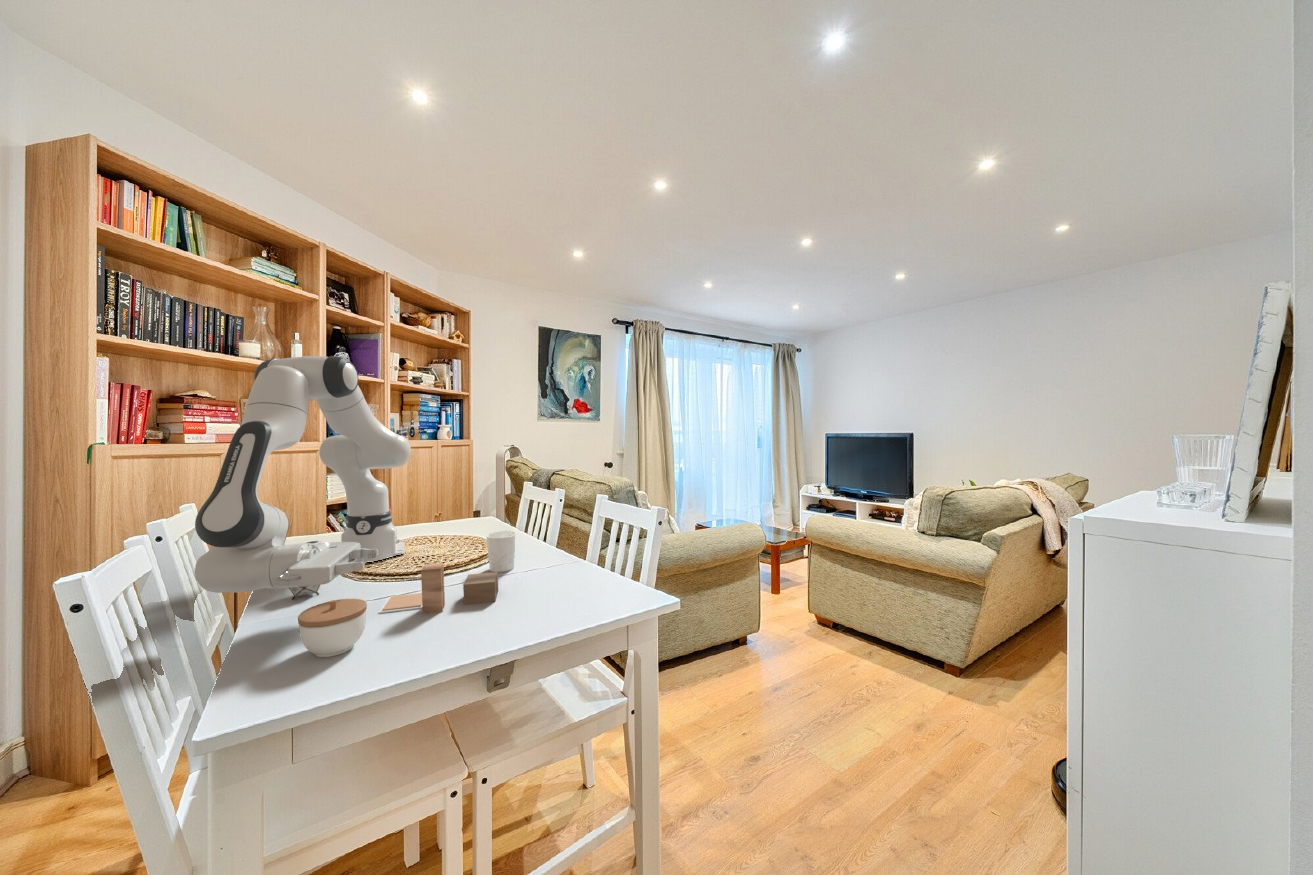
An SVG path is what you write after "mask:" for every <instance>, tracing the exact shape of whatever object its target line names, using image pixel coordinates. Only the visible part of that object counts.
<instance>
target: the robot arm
mask: <svg viewBox="0 0 1313 875" xmlns="http://www.w3.org/2000/svg"><path fill="white" fill-rule="evenodd" d="M253 380H254V382H253V384H252V386H251V388H250V389H251V390H250V392H249V395H248V399H247V400H246V401H247V402H246V406H245V410H244V416H243V418H242V421H241V424H240V426H239V427H238V429H237V430H236V431H235V433H234V434H233V436H232V439H231V441H230V444H229V446H228V449H227V451H226V454H225V457H224V460H223V463H222V466H221V468H220V471H219V474H218V477H217V480H216V483H215V485H214V488H213V490H212V492H211V494H210V495H209V497H208V498H207V499H206V500H205V502H204V503H203V505H202V506H201V508H200V509H199V511H198V513H197V514H196V517H195V519H194V520H195V522H194V523H195V524H194V527H195V532H196V535H197V536H198V538H199V539H200V540H201V541H203V543H204V544H207V545H209V546H212V547H211V548H210V549H209V550H207V552H205V553H204V554H202V555H201V556H199V558H198V559H197V560H196V563H195V568H194V575H195V579H196V581H197V584H199V586H200V588H202V589H203V590H205V591H207V592H210V593H217V594H218V593H219V594H226V593H227V594H232V593H245V592H254V591H257V590H261V589H272V590H273V589H274V590H279V589H287V588H289V589H290V587H300V586H311V585H320V586H321V585H326V584H329V583H330V582H333V580H334V579H335V578H337V577H338V576H340V575H341V576H343V575H345V574H350V573H354V572H361V571H363V570H364V568H365V567H366V563H365V562H367V561H377V560H381V559H384V558H387V557H390V556H395V555H400V554H403V553H404V554H405V548H406V544H405V541H402V540H400V539H399V538H398V532H397V531H398V530H397V528H396V526H394V524H393V522H392V521H393V518H392V509H391V508H390V498H389V488H388V486H387V485H386V484H385V483H384V482H382V481H380V480H378V479H376V478H375V477H374V475H372V473H371V470H381V469H382V470H388V469H393V468H397V467H398V468H399V467H401V466H402V467H403V466H404V465H406V464H407V463H408V461H409V460H410V458H411V454H412V449H411V448H412V447H411V444H410V442H409V440H408V439H407V438H406V437H405V436H403V435H400V434H398V433H396V432H394V431H392V430H391V429H389V428H388V427H386V426H385V425H384V424H382V422H381V421H379V420H378V419H377V418H376V416H375V415H374V413H373V412H372V410H371V409H370V407H369V405H368V402H367V401H366V399H365V396H364V394H363V392H362V390H361V388H360V386H359V373H358V370H357V368H356V366H355V364H353V362H351V361H350V360H349V359H348V358H346V357H342V356H336V355H330V356H321V355H318V356H317V355H303V356H293V357H286V358H277V357H275V358H271V359H267V360H264V361H262V362H260V364H259V365H258V366H257V367H256V369H255V371H254V375H253ZM314 400H315V401H316V403H317V405H318V407H319V409H320V411H321V413H322V415H323V418H325V420H326V422H327V425H328V426H329V428H330V429H331V430H332V431H333V432H335V433H336V434H338V435H333V436H329V437H326V438H325V439H323V441H322V442H321V445H319V452H318V453H319V458H320V460H321V462H322V463H323V464H324V465H325V466H326V467H328V468H329V469H330V470H332V471H333V472H334V473H335V474H336V475H337V477H338V478H339V480H340V481H341V483H342V485H343V488H344V491H345V497H346V505H347V515H346V516H345V523H346V524H345V526H346V529H345V530H344V531H343V532H342V533H341V540H340V541H331V542H329V541H328V542H322V540H311V541H308V542H303V543H294V544H285V542H286V540H287V536H288V532H289V528H290V520H289V517H288V515H287V514H286V513H285V511H284V510H282V509H281V508H278V507H276V506H273V505H271V504H268V503H265V502H262V501H261V500H260V498H259V495H258V489H259V485H260V482H261V479H262V475H263V472H264V469H265V465H266V462H267V460H268V458H269V456H270V455H271V454H272V453H273V452H274V451H280V450H285V449H287V448H290V447H291V448H292V447H293V446H294V445H297V443H298V442H300V441H301V440H302V438H303V435H304V433H305V431H306V426H307V420H308V415H309V404H310V401H314Z"/></svg>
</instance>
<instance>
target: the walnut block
mask: <svg viewBox="0 0 1313 875" xmlns="http://www.w3.org/2000/svg"><path fill="white" fill-rule="evenodd" d="M462 586H463V587H462V588H463V589H462V592H463V605H464V606H467V605H477V604H487V603H495V602H496V600H497V597H498V593H499V572H486V573H485V572H483V573H472V574H467V576H466V578H465V580H464V582H463V584H462Z"/></svg>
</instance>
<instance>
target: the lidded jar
mask: <svg viewBox="0 0 1313 875" xmlns="http://www.w3.org/2000/svg"><path fill="white" fill-rule="evenodd" d="M367 605H368V604H367V602H366V601H365V600H363V599H360V598H340V599H332V600H329V601H326V602H322V603H319V604H315V605H313V606H311V607H308V608H307V609H305V610H303V611H301V613H300V614H299V615H298V616H297V624H298V630H299V636H300V639H301V640H300V641H301V643H302V645H303V646H304V647H305V649H306V650H307V651H309V652H310V653H312V654H314V655H315V656H316V657H318V658H330V657H336V656H339V655H342V654H344V653H347V652H349V651H350V650H351V649H352V648H354V646H355V644H357V642H358V641H359V639H361V637H362V635H363V633H364V631H365V629H366V623H367V608H368V607H367Z"/></svg>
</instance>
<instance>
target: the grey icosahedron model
mask: <svg viewBox="0 0 1313 875" xmlns="http://www.w3.org/2000/svg"><path fill="white" fill-rule="evenodd" d="M320 587H321V585H311V586H300V587H290V588H289V590H290V592H291V594H292V595H293V596H292V598H291V599H292V601H293V600H295V598H296V597H300V596H305V595H307V596H308V595H312V594H316V595H317V596H319V595H320V593H319V592H318V591H319V589H320Z"/></svg>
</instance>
